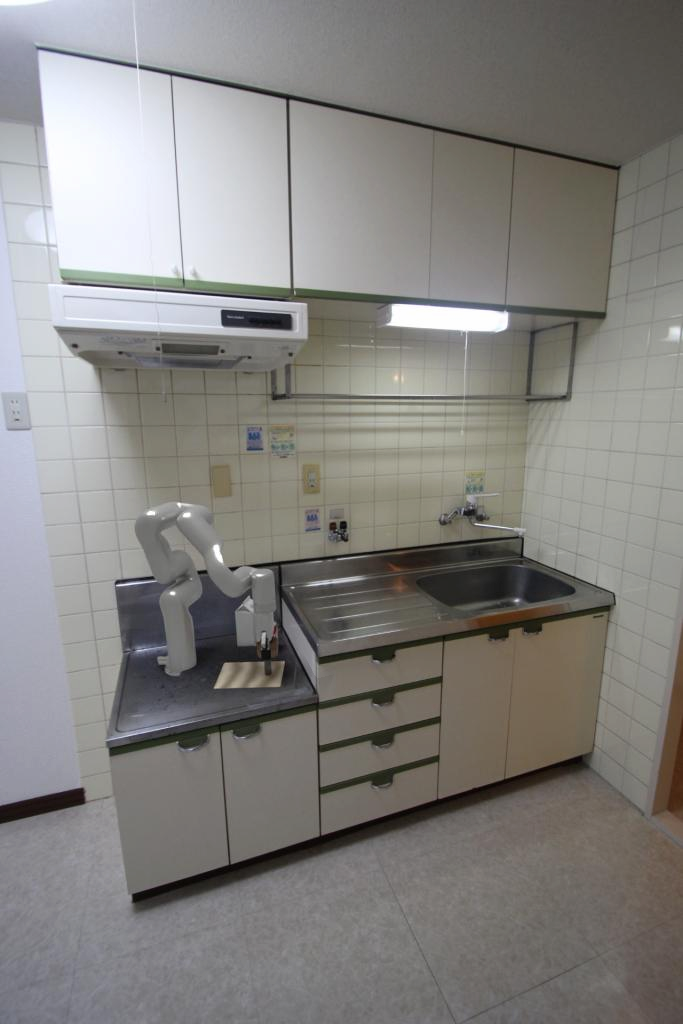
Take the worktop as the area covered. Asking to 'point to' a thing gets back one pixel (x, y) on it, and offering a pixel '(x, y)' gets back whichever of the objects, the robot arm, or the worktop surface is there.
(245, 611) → the milk carton
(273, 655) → the bead
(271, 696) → the worktop surface
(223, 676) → the board
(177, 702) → the worktop surface
